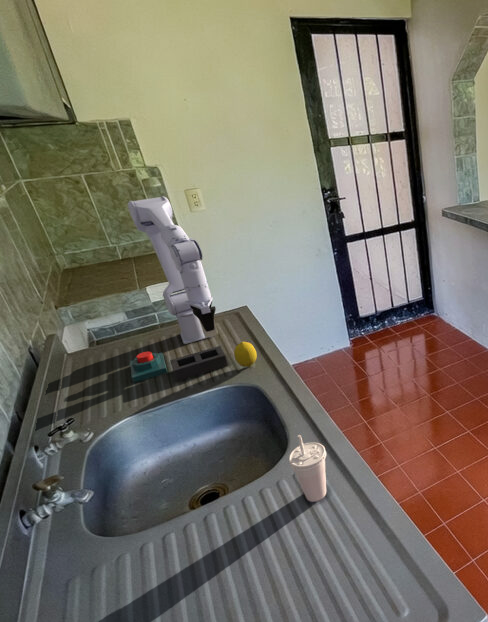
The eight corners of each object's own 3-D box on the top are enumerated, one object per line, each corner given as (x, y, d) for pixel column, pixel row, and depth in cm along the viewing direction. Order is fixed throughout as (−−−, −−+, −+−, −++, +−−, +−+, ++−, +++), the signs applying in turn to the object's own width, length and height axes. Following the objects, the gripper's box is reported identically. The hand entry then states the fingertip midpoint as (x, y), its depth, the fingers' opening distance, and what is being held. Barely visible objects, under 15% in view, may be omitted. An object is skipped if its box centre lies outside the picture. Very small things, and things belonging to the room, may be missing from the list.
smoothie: (296, 487, 87) (282, 429, 81) (330, 476, 89) (318, 419, 83) (300, 512, 81) (284, 452, 75) (336, 500, 84) (324, 440, 78)
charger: (203, 333, 133) (196, 311, 130) (216, 330, 134) (209, 308, 131) (205, 337, 130) (198, 315, 127) (218, 334, 132) (211, 312, 129)
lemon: (262, 361, 130) (256, 337, 127) (253, 372, 125) (246, 347, 122) (244, 361, 131) (238, 337, 127) (234, 371, 126) (227, 346, 122)
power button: (138, 359, 128) (135, 354, 127) (152, 355, 130) (150, 350, 129) (138, 364, 125) (136, 359, 124) (153, 360, 127) (151, 355, 126)
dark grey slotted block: (173, 370, 128) (170, 360, 126) (223, 355, 134) (220, 345, 133) (177, 382, 122) (173, 371, 121) (228, 365, 129) (225, 355, 127)
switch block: (131, 366, 131) (127, 355, 129) (163, 357, 135) (160, 347, 133) (133, 383, 123) (129, 372, 121) (167, 372, 127) (163, 362, 125)
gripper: (176, 280, 129) (189, 323, 135) (183, 295, 118) (197, 341, 124) (203, 275, 133) (215, 316, 138) (212, 288, 122) (225, 333, 128)
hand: (209, 328), depth 131 cm, fingers closed on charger, 3 cm apart
